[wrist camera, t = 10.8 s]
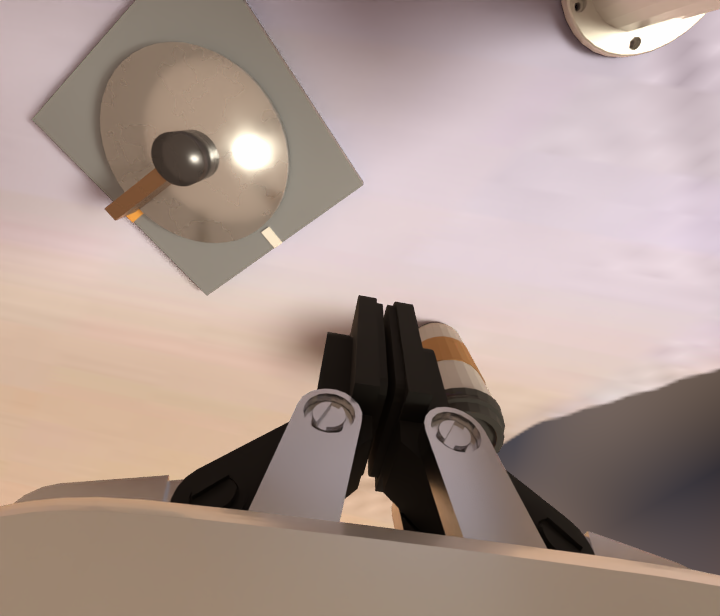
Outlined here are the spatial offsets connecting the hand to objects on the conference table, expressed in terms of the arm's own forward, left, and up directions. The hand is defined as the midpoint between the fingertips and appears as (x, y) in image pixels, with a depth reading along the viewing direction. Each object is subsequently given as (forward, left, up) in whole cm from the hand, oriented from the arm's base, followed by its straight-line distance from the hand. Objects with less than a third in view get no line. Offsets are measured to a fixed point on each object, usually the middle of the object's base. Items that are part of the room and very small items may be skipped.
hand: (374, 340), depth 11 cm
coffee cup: (+4, +20, -27) cm, 34 cm away
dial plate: (+11, -11, -27) cm, 31 cm away
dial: (+11, -11, -25) cm, 30 cm away
